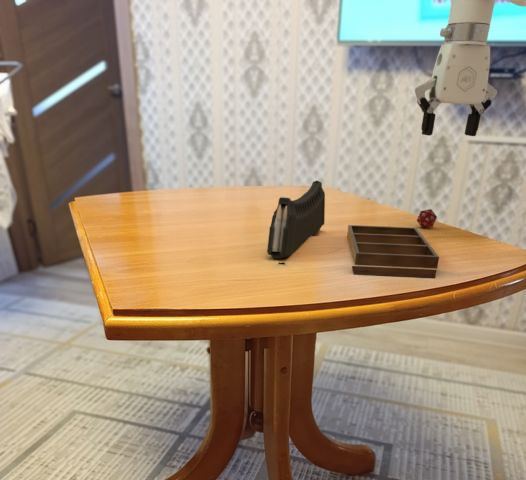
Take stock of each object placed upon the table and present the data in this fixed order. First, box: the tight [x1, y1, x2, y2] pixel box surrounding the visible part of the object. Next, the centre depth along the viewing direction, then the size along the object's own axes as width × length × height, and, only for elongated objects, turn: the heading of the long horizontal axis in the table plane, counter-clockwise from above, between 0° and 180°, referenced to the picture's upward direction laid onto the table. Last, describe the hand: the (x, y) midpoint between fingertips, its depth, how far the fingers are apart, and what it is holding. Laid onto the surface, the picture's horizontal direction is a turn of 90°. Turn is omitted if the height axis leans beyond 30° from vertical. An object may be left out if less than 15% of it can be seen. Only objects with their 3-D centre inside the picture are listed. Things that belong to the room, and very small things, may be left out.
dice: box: [416, 208, 438, 229], centre depth 113 cm, size 4×4×4 cm
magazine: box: [266, 180, 326, 266], centre depth 96 cm, size 17×3×30 cm
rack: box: [346, 224, 440, 279], centre depth 91 cm, size 13×20×4 cm, turn 175°
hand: (448, 135), depth 104 cm, fingers open, 9 cm apart
